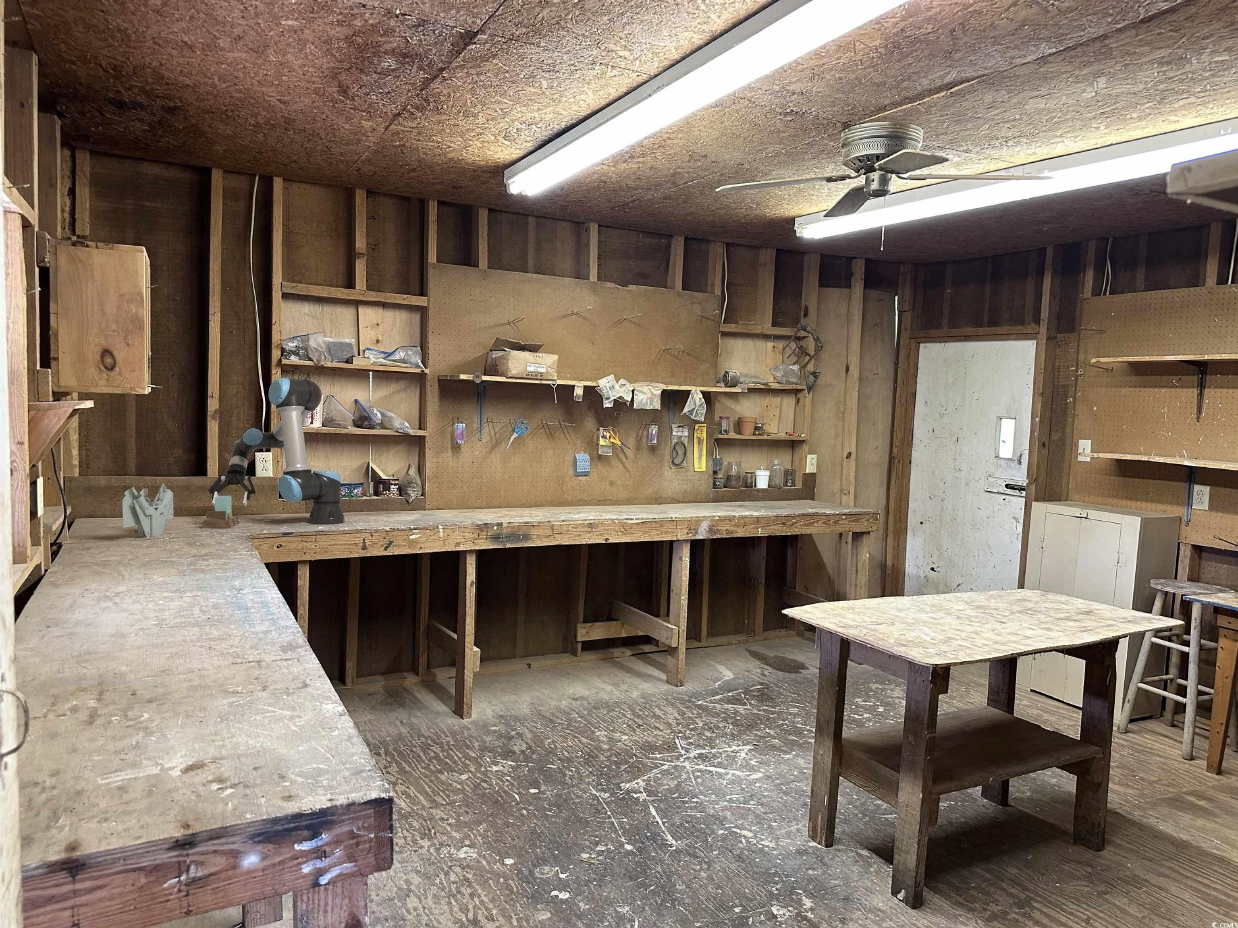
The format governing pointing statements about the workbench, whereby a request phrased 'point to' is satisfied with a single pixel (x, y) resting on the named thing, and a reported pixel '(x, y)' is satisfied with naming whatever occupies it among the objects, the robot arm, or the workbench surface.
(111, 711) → the workbench surface
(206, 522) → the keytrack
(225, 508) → the mint green box
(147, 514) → the bracket
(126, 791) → the workbench surface
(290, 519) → the workbench surface
